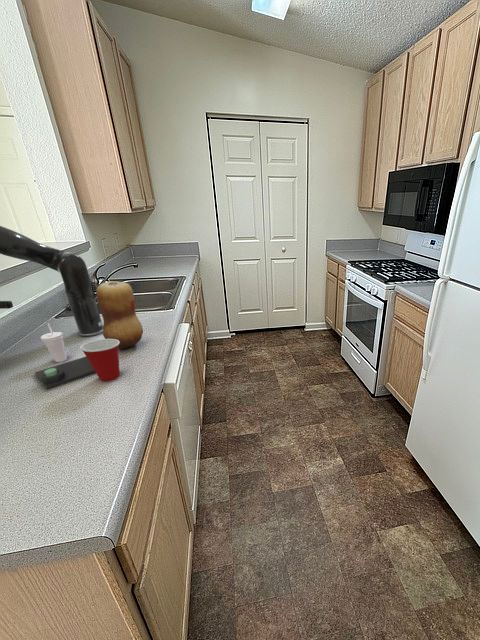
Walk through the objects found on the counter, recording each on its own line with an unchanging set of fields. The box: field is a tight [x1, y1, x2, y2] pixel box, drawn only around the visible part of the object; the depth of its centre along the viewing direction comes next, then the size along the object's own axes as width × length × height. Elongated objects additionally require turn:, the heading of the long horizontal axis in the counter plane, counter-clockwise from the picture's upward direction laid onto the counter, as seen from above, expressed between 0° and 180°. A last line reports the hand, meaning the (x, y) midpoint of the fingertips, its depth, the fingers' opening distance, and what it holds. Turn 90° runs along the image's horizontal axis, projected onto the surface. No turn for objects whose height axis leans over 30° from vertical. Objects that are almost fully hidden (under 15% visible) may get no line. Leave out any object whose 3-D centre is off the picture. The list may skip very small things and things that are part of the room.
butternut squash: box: [96, 280, 144, 350], centre depth 124 cm, size 14×13×25 cm
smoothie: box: [40, 322, 68, 363], centre depth 117 cm, size 6×6×14 cm
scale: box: [34, 356, 96, 391], centre depth 110 cm, size 14×16×3 cm
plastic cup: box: [79, 338, 121, 382], centre depth 105 cm, size 11×11×12 cm
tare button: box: [44, 368, 58, 377], centre depth 104 cm, size 3×3×2 cm
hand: (11, 304), depth 109 cm, fingers closed
